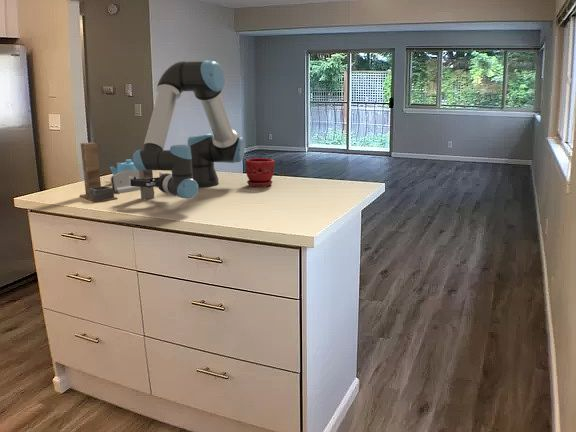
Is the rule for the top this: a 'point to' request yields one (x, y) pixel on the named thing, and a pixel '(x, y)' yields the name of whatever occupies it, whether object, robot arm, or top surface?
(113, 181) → the hinge
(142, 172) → the grey rectangular block
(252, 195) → the top surface
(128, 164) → the teapot
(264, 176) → the plant pot
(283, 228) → the top surface
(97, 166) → the dark brown bookend
